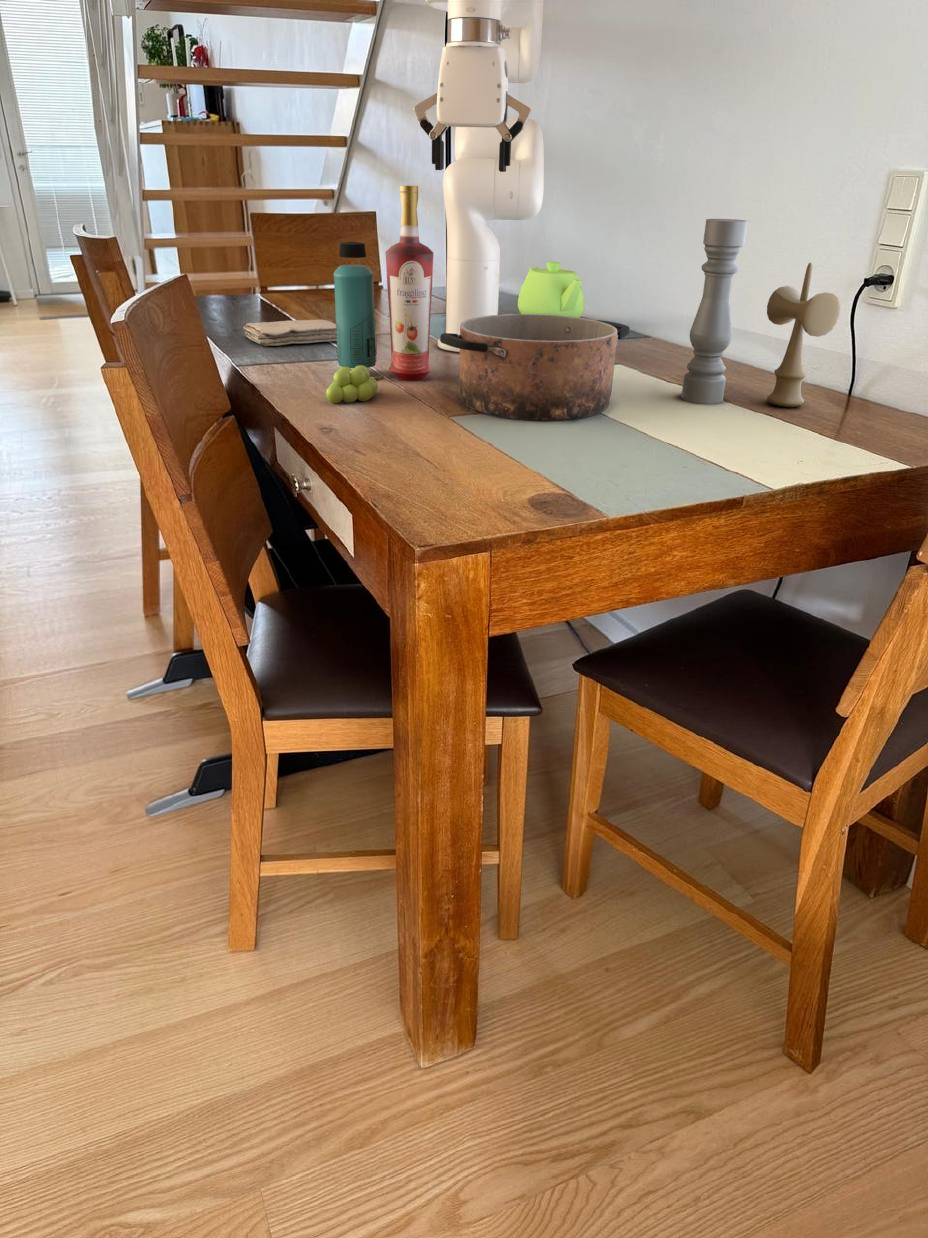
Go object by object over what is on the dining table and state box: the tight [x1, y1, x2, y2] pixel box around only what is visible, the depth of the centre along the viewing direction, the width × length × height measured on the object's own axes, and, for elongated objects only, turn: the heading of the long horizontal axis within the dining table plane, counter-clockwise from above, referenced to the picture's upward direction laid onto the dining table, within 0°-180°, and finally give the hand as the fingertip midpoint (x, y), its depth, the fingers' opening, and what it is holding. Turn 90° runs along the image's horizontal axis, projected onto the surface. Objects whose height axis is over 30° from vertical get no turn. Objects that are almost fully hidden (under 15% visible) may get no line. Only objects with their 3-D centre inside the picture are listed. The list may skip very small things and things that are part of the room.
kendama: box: [766, 262, 841, 408], centre depth 133 cm, size 6×10×20 cm, turn 20°
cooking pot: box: [439, 313, 631, 422], centre depth 133 cm, size 30×22×11 cm
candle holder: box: [680, 218, 749, 405], centre depth 134 cm, size 6×6×25 cm
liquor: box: [385, 185, 434, 381], centre depth 142 cm, size 7×7×28 cm
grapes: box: [325, 365, 385, 404], centre depth 135 cm, size 12×7×4 cm, turn 143°
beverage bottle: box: [332, 241, 378, 369], centre depth 145 cm, size 6×7×20 cm
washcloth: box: [243, 319, 337, 347], centre depth 175 cm, size 12×18×3 cm, turn 119°
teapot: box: [517, 261, 586, 318], centre depth 194 cm, size 20×13×13 cm
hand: (470, 170), depth 138 cm, fingers open, 9 cm apart
